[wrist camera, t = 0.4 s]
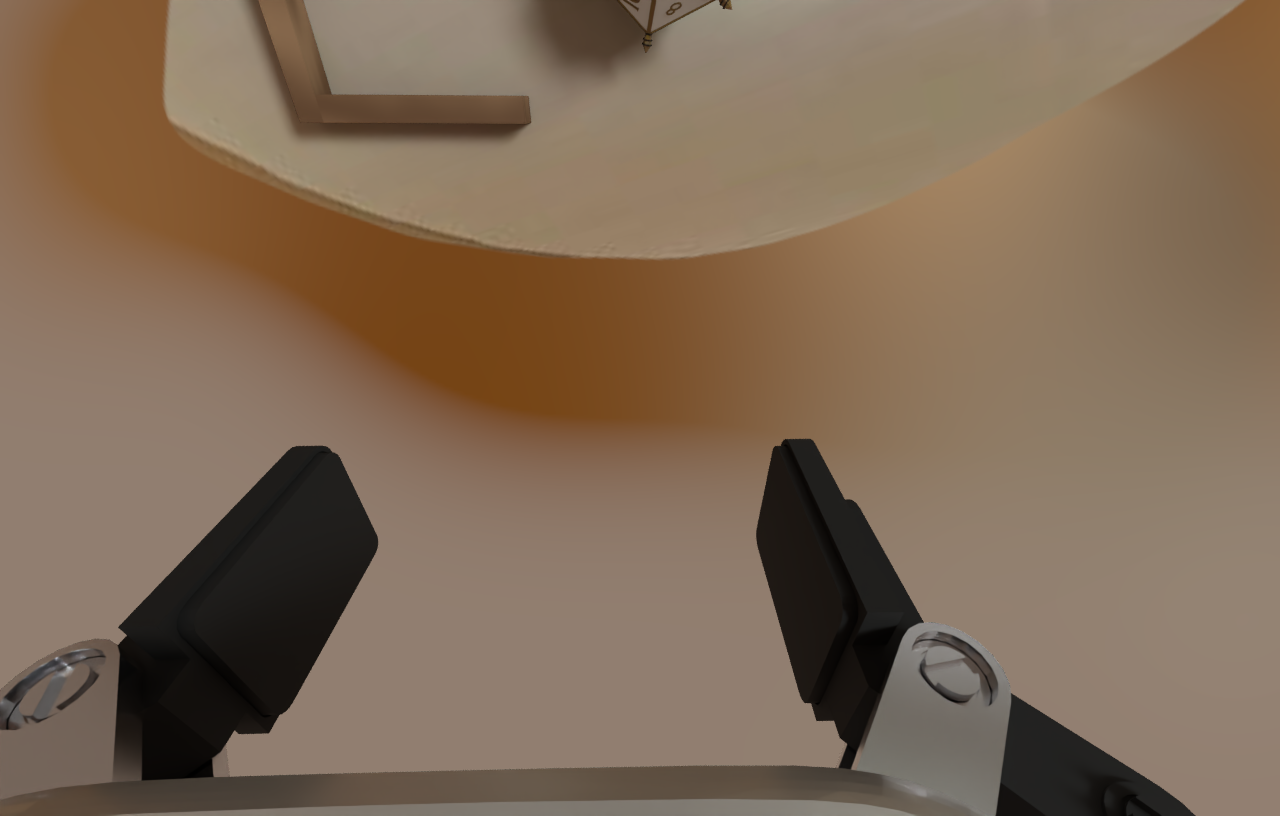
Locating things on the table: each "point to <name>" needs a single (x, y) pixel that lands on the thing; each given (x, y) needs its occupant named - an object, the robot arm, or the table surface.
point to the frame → (320, 106)
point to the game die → (662, 13)
